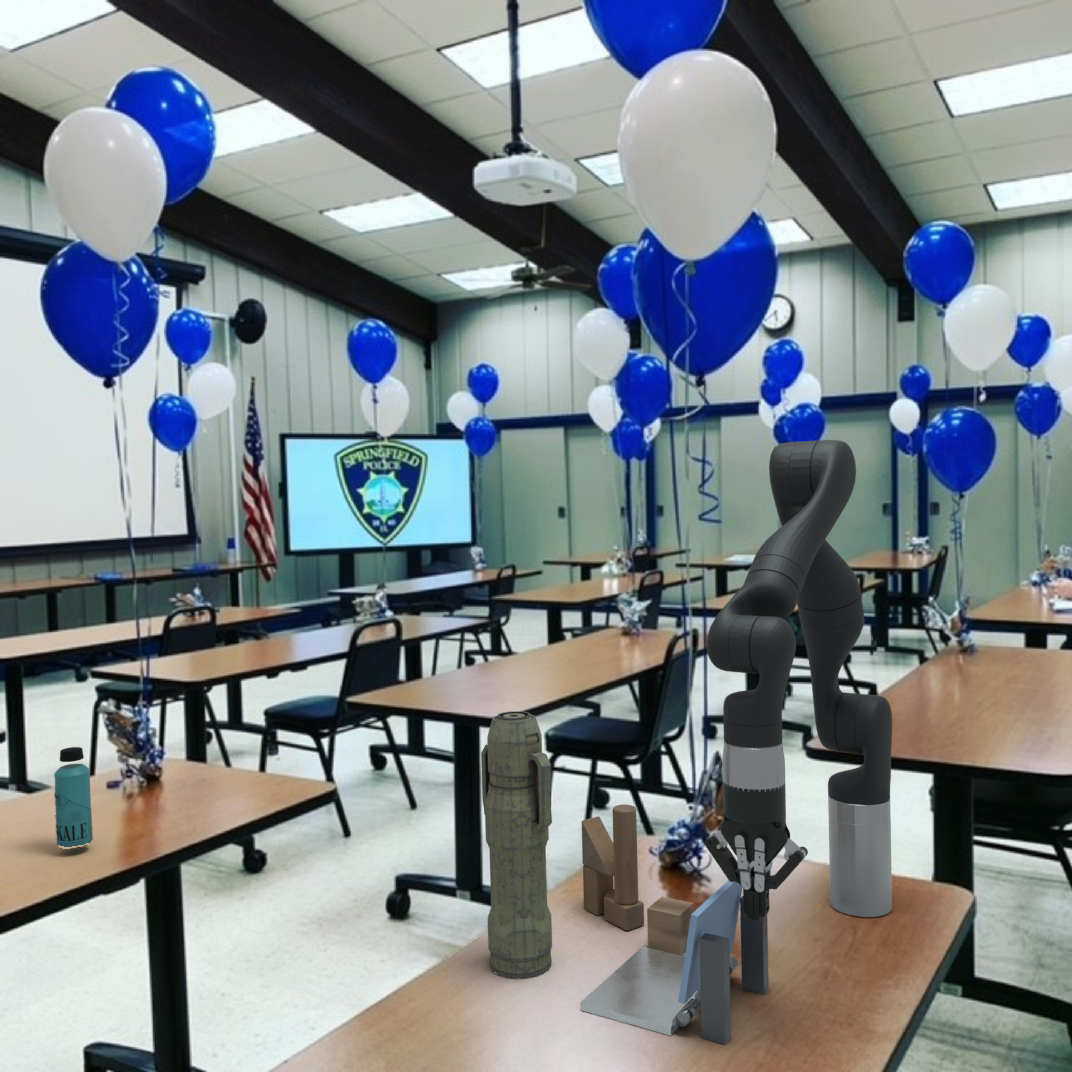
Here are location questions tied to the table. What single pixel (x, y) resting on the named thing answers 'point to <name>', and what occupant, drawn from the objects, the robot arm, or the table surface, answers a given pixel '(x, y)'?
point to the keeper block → (669, 925)
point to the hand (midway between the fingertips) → (756, 917)
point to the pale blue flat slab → (712, 919)
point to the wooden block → (612, 869)
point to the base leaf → (655, 978)
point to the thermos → (517, 845)
